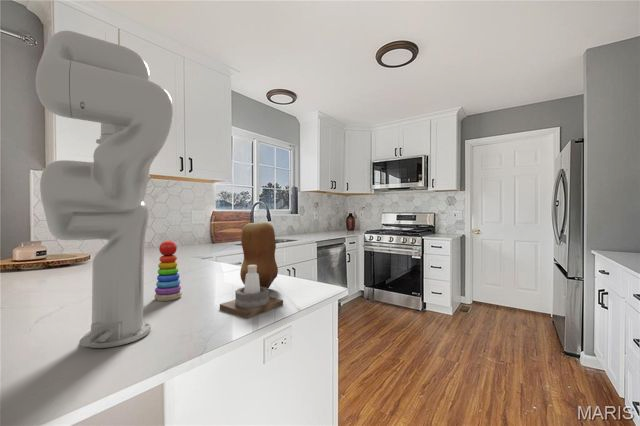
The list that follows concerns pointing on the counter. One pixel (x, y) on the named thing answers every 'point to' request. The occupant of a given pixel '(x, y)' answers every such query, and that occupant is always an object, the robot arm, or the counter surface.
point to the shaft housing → (251, 303)
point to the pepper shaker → (252, 280)
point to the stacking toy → (168, 274)
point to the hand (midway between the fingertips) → (116, 204)
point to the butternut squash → (259, 252)
